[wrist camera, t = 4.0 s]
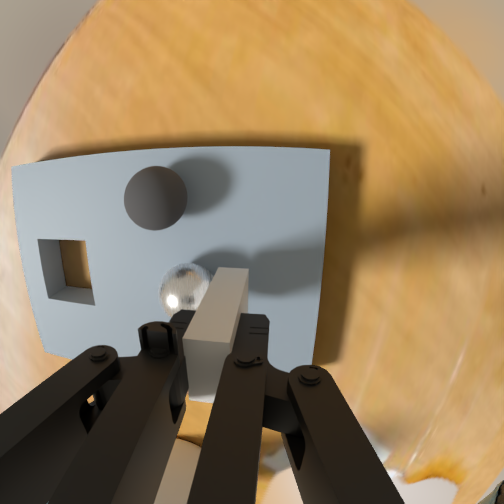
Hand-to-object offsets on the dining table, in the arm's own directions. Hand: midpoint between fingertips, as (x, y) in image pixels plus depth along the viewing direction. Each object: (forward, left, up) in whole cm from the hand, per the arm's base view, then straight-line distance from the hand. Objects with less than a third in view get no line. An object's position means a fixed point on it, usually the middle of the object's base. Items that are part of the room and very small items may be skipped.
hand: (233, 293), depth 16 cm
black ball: (+4, -5, 0) cm, 6 cm away
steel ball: (+2, 0, 0) cm, 2 cm away
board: (+6, 0, -4) cm, 7 cm away
